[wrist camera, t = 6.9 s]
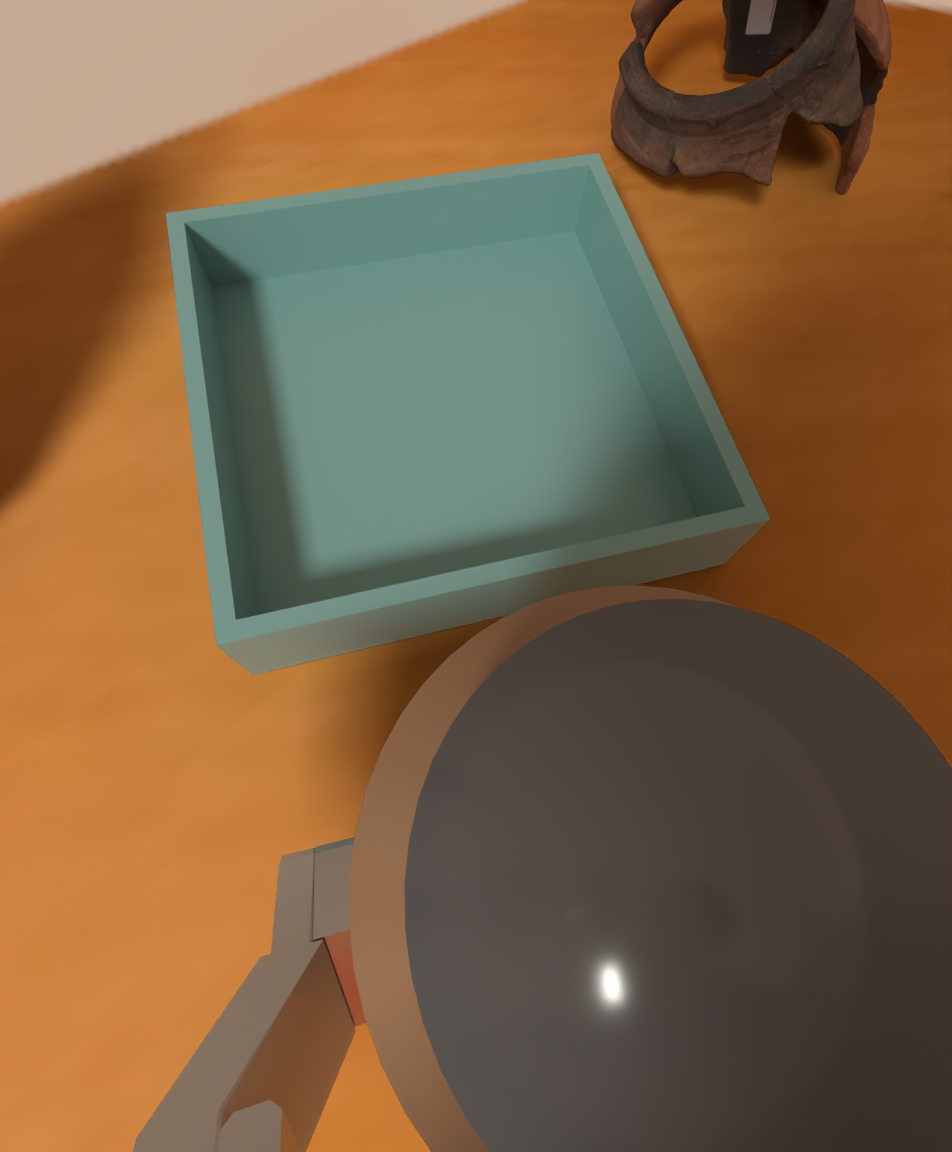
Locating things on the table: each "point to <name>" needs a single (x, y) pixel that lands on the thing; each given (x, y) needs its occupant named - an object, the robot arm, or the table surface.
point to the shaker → (658, 891)
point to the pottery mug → (758, 88)
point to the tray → (439, 408)
